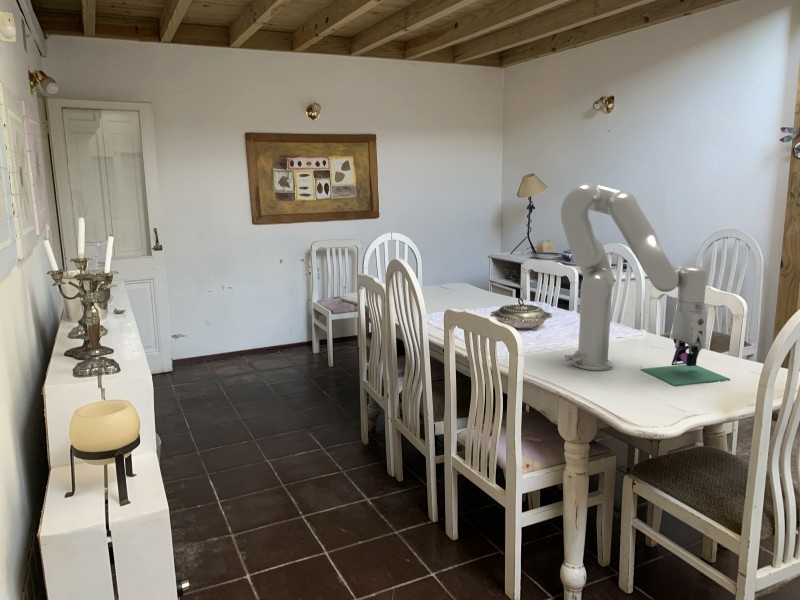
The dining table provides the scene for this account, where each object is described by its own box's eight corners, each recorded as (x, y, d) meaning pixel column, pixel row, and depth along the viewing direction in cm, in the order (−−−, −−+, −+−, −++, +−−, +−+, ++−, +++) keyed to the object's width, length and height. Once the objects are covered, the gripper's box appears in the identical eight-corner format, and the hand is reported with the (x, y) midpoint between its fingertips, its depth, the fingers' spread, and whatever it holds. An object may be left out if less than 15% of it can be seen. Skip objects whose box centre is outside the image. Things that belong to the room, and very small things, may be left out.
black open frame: (699, 343, 190) (675, 345, 188) (710, 351, 186) (686, 354, 183) (693, 360, 193) (669, 363, 191) (704, 369, 189) (680, 372, 186)
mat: (674, 386, 179) (674, 384, 179) (640, 370, 195) (640, 368, 194) (730, 380, 184) (730, 378, 184) (692, 365, 199) (693, 363, 199)
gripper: (721, 311, 178) (715, 370, 181) (681, 300, 194) (677, 355, 197) (699, 312, 176) (694, 372, 180) (661, 302, 192) (657, 357, 196)
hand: (685, 362), depth 189 cm, fingers closed on black open frame, 4 cm apart
